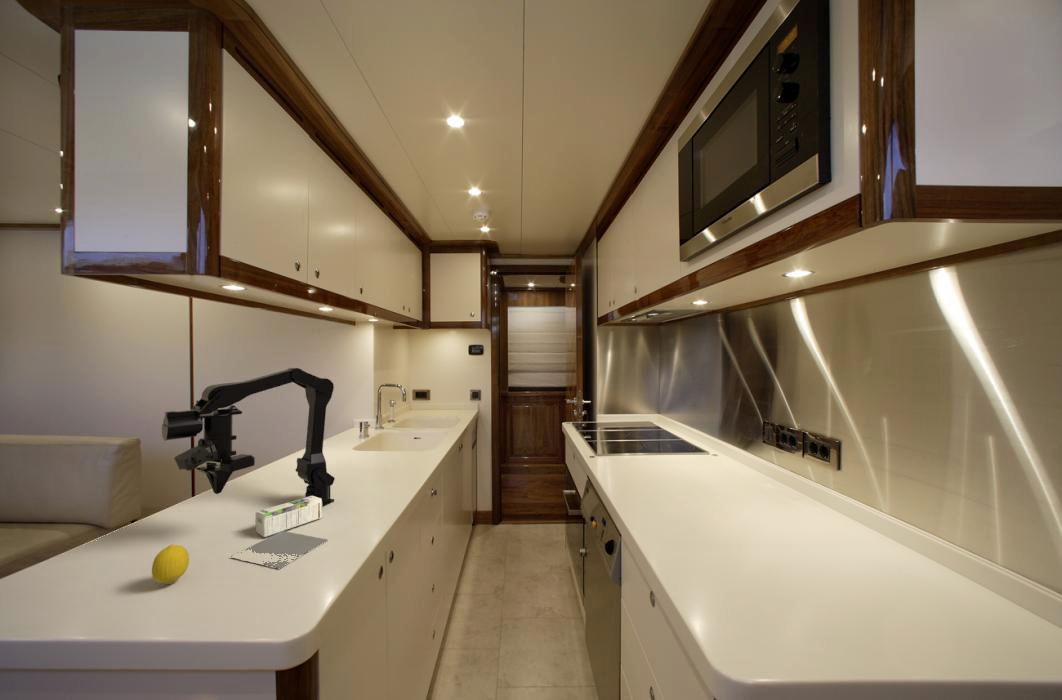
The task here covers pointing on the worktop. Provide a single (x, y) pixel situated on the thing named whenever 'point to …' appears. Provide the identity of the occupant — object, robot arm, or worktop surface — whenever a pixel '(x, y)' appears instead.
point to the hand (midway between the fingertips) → (217, 493)
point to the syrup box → (288, 515)
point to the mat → (286, 546)
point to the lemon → (170, 564)
